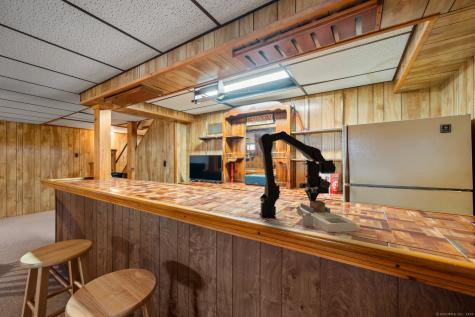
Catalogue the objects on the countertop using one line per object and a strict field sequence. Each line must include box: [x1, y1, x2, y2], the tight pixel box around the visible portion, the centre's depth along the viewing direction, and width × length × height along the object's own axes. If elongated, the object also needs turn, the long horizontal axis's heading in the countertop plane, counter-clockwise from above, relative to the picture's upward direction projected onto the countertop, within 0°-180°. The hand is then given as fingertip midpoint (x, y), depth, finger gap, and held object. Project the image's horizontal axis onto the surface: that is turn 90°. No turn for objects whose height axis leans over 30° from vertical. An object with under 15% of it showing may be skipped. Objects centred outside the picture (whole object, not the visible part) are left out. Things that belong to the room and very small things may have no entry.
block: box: [309, 199, 326, 213], centre depth 97 cm, size 5×5×4 cm
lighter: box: [295, 204, 314, 227], centre depth 86 cm, size 7×2×8 cm, turn 68°
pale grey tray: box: [296, 203, 357, 233], centre depth 92 cm, size 12×28×5 cm, turn 7°
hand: (312, 205), depth 101 cm, fingers closed
